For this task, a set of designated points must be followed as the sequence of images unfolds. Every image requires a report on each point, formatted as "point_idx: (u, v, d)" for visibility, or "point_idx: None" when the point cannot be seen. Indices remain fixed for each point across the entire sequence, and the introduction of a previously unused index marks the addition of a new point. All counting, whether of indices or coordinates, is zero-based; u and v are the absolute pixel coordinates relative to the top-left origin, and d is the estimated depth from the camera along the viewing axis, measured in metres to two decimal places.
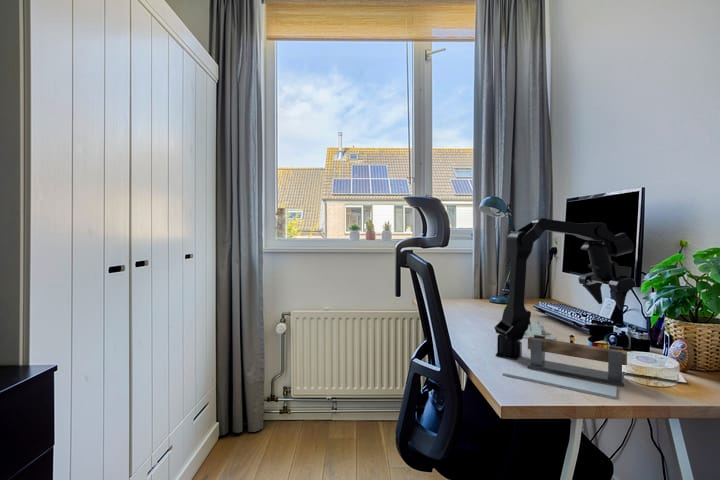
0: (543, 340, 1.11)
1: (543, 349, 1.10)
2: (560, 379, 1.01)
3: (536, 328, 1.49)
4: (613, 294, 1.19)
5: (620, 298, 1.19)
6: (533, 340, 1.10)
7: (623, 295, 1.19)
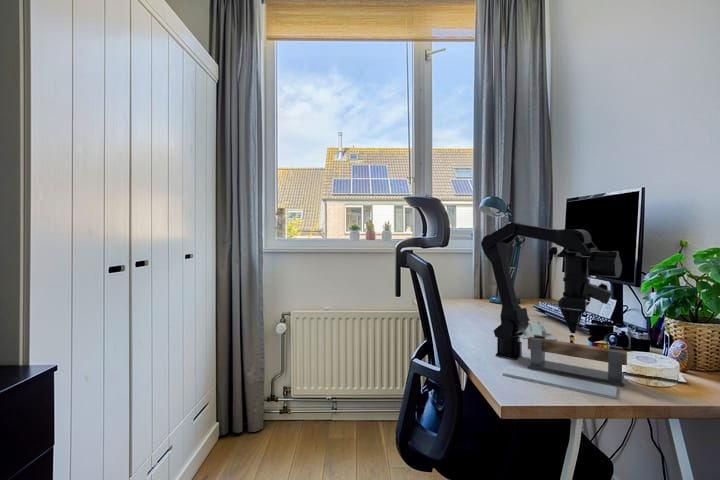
0: (543, 340, 1.11)
1: (543, 349, 1.10)
2: (560, 379, 1.01)
3: (536, 328, 1.48)
4: (562, 312, 1.03)
5: (570, 319, 1.02)
6: (533, 340, 1.10)
7: (575, 317, 1.02)
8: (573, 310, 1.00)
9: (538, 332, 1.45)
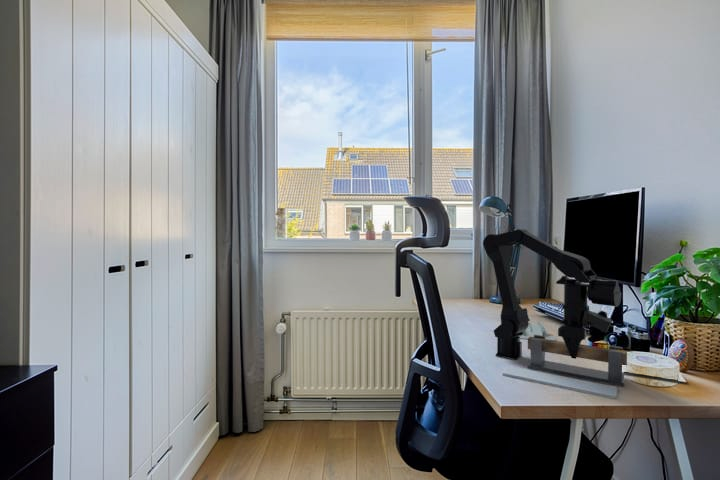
0: (543, 340, 1.11)
1: (543, 349, 1.10)
2: (560, 379, 1.01)
3: (537, 329, 1.47)
4: (563, 337, 1.06)
5: (571, 345, 1.05)
6: (533, 340, 1.10)
7: (576, 343, 1.04)
8: None
9: (538, 332, 1.45)
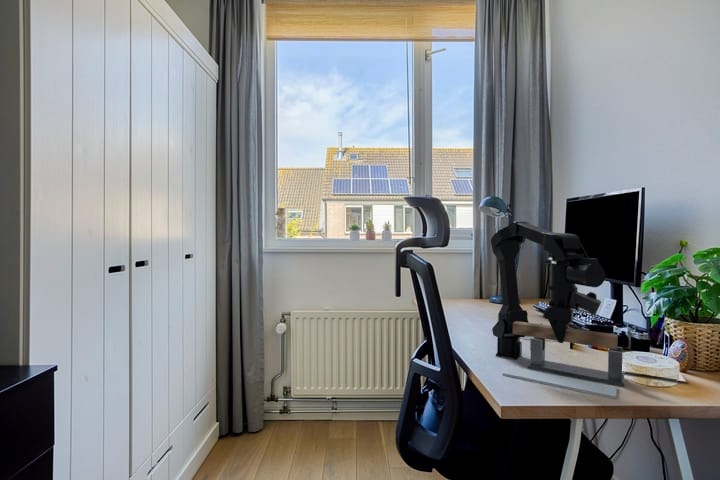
0: (529, 324, 1.04)
1: (529, 334, 1.03)
2: (560, 379, 1.01)
3: None
4: None
5: (558, 328, 0.98)
6: (533, 340, 1.10)
7: (563, 326, 0.97)
8: None
9: None
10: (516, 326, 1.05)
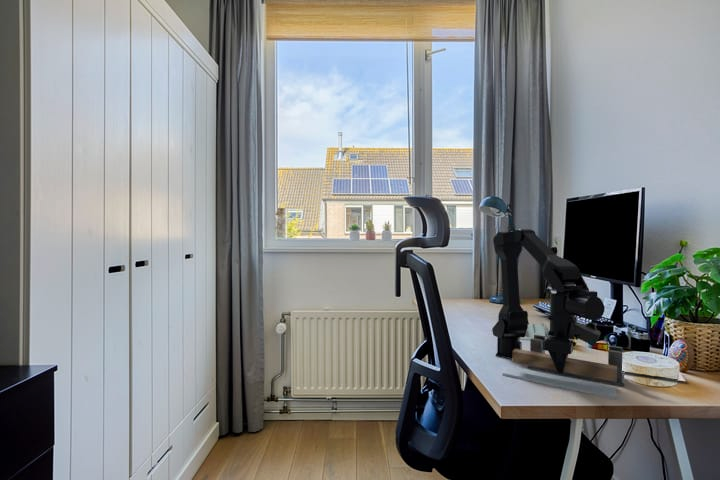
0: (528, 353, 1.04)
1: (528, 362, 1.03)
2: (560, 379, 1.01)
3: (540, 330, 1.46)
4: None
5: (557, 359, 0.98)
6: (533, 340, 1.10)
7: (562, 357, 0.97)
8: None
9: (541, 334, 1.43)
10: (516, 355, 1.05)
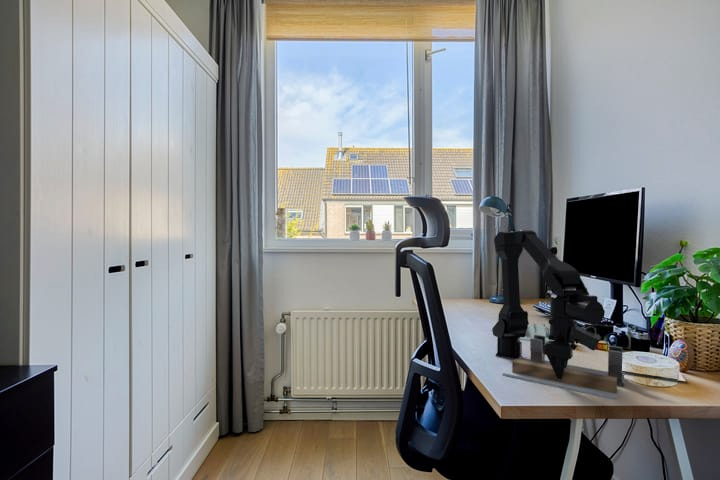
0: (528, 363, 1.04)
1: (528, 373, 1.03)
2: None
3: (541, 330, 1.45)
4: None
5: (557, 364, 0.97)
6: (533, 340, 1.10)
7: (561, 363, 0.96)
8: None
9: (542, 334, 1.42)
10: (516, 365, 1.05)
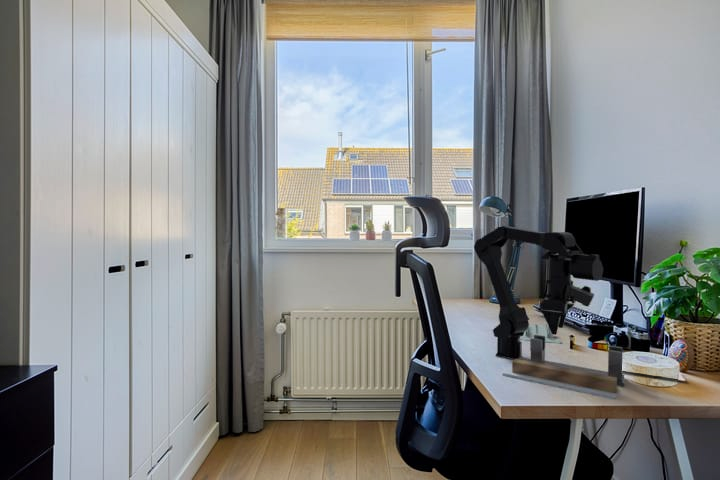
0: (528, 363, 1.04)
1: (528, 373, 1.03)
2: None
3: (543, 331, 1.44)
4: None
5: (551, 321, 1.04)
6: (533, 340, 1.10)
7: (556, 319, 1.03)
8: (553, 312, 1.02)
9: (544, 335, 1.42)
10: (516, 365, 1.05)
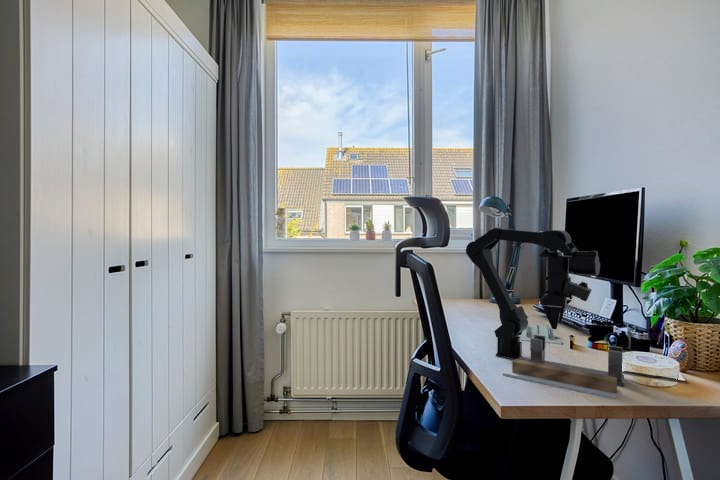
0: (528, 363, 1.04)
1: (528, 373, 1.03)
2: None
3: (544, 331, 1.43)
4: None
5: (552, 316, 1.08)
6: (533, 340, 1.10)
7: (556, 314, 1.07)
8: (554, 307, 1.05)
9: (545, 335, 1.41)
10: (516, 365, 1.05)
